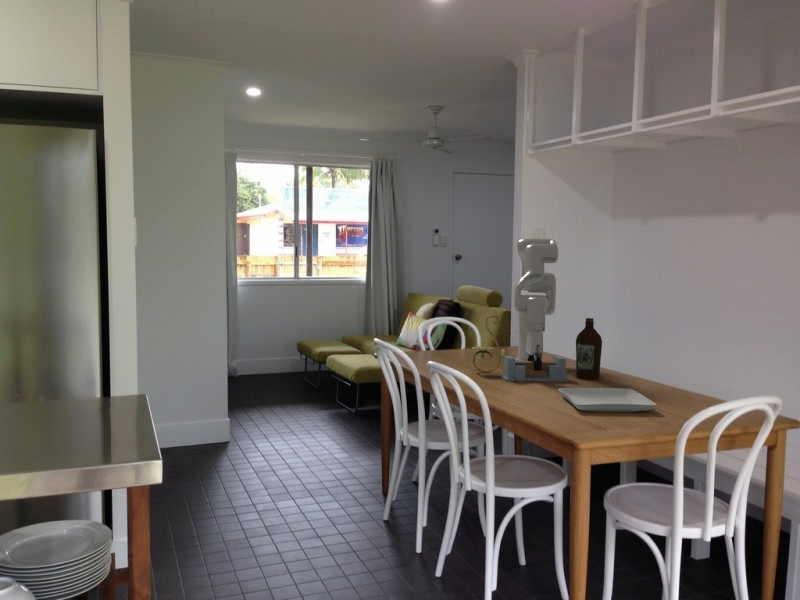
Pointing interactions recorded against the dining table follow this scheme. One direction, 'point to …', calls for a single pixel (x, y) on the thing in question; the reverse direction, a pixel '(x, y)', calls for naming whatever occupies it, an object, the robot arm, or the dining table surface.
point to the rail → (530, 368)
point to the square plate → (607, 399)
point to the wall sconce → (486, 349)
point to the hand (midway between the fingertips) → (534, 368)
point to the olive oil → (588, 352)
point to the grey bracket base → (519, 374)
